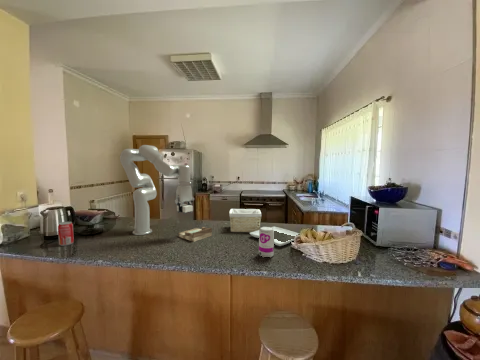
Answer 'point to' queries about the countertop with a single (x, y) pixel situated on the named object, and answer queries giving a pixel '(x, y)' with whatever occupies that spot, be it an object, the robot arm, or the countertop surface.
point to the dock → (196, 234)
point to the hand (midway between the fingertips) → (184, 211)
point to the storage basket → (245, 220)
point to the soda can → (65, 233)
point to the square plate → (280, 230)
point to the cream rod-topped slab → (185, 208)
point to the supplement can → (266, 242)
